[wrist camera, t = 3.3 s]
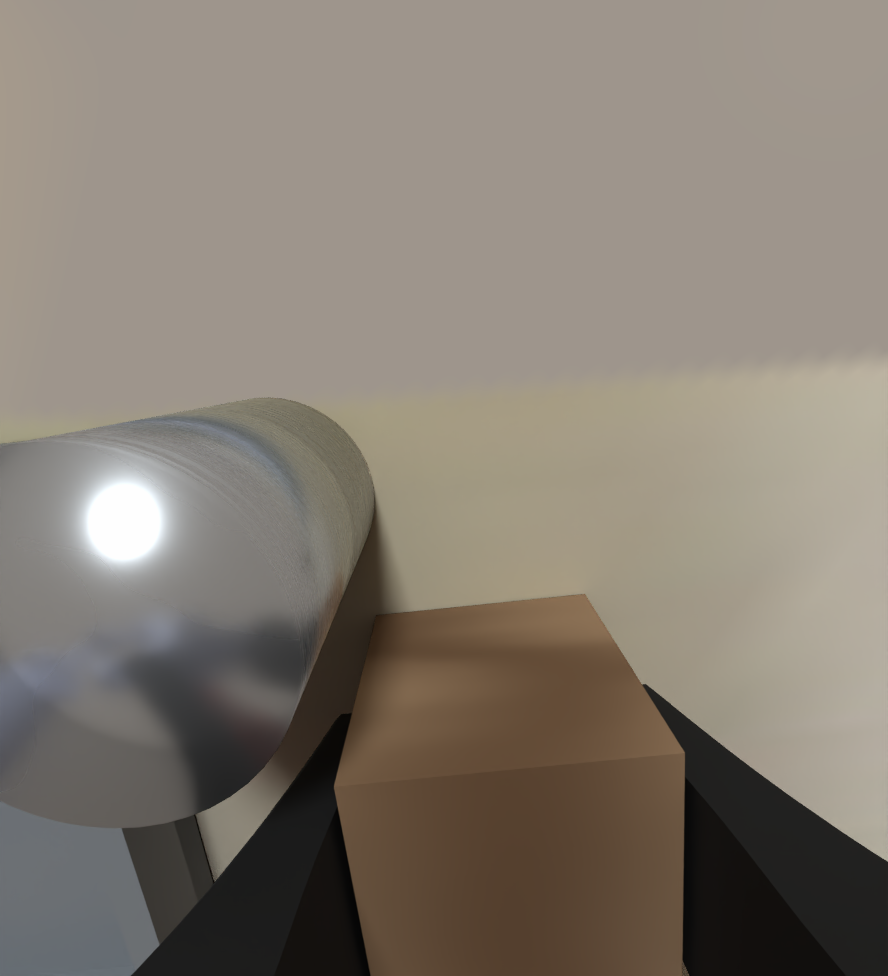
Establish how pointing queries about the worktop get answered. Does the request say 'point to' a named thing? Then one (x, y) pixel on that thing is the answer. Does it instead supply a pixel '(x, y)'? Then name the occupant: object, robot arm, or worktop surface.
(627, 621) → the worktop surface
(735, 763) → the robot arm
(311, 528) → the silver metal cylinder
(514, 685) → the walnut block
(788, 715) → the worktop surface
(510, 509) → the worktop surface
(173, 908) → the parts tray
